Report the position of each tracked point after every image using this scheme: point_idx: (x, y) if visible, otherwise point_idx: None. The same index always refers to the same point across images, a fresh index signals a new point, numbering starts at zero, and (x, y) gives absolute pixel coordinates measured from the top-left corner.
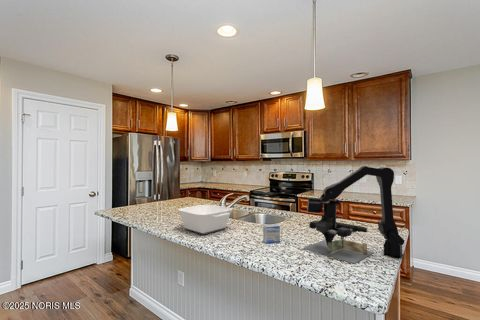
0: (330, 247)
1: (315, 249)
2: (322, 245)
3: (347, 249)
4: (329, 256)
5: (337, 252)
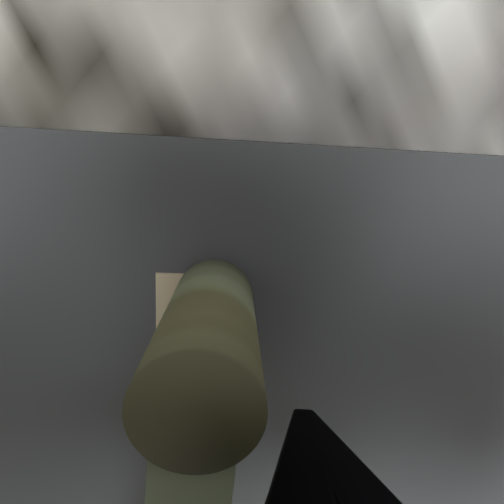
0: (169, 304)
1: (483, 251)
2: (460, 501)
3: None
4: (143, 137)
5: None
